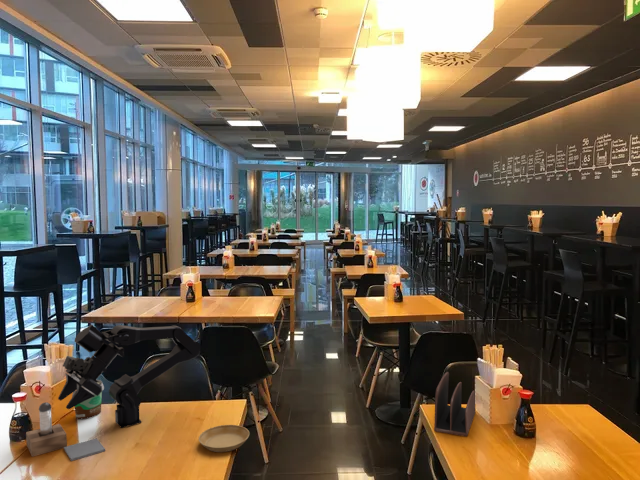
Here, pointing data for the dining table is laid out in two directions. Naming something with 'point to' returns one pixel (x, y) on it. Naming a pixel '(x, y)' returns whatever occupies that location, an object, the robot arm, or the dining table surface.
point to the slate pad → (84, 449)
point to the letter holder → (452, 410)
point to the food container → (89, 406)
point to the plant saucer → (224, 438)
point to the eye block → (46, 440)
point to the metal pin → (45, 419)
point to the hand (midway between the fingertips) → (63, 404)
